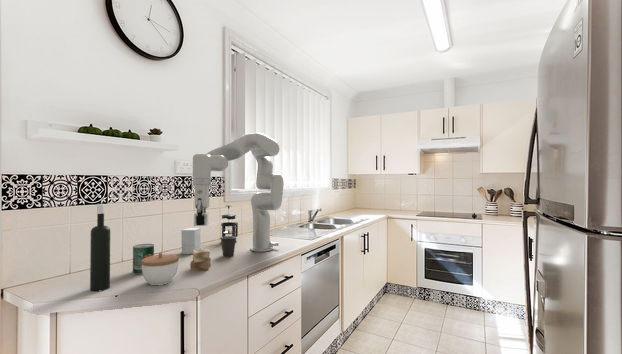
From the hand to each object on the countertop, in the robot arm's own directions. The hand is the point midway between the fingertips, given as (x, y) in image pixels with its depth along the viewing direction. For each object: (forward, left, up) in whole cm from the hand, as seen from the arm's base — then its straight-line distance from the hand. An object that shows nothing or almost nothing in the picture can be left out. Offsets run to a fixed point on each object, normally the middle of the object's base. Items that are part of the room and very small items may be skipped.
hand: (201, 223), depth 132 cm
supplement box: (+10, -32, -20) cm, 39 cm away
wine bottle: (+31, +19, -20) cm, 41 cm away
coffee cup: (-10, -21, -20) cm, 30 cm away
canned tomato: (+23, 0, -20) cm, 30 cm away
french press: (-8, -55, -20) cm, 59 cm away
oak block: (0, 0, -16) cm, 16 cm away
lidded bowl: (+12, +16, -20) cm, 28 cm away
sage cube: (0, 0, -1) cm, 1 cm away
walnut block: (0, 0, -20) cm, 20 cm away
